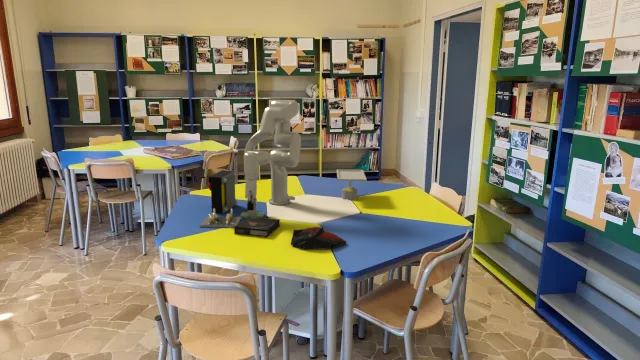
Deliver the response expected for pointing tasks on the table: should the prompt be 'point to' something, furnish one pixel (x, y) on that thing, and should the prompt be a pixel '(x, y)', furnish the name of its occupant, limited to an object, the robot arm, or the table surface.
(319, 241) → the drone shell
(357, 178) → the solar panel model
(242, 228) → the portable cd player
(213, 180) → the electrical component
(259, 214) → the board
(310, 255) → the table surface
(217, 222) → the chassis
